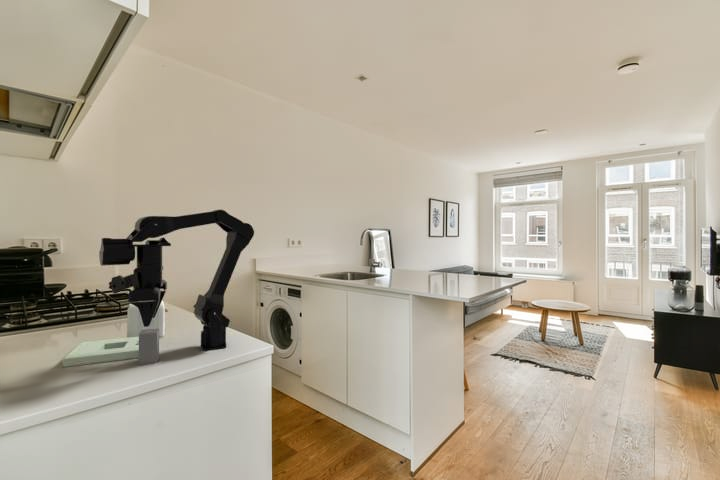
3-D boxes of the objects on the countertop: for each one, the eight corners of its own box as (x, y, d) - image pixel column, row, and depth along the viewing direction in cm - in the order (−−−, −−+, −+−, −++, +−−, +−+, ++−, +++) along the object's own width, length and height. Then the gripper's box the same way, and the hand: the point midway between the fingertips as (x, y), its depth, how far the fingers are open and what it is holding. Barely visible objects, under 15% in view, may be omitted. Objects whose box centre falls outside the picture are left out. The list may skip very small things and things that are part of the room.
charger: (158, 357, 89) (159, 328, 89) (156, 362, 85) (156, 332, 85) (141, 359, 87) (141, 329, 87) (138, 365, 83) (138, 334, 83)
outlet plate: (155, 339, 104) (155, 332, 104) (147, 356, 89) (147, 348, 89) (84, 346, 96) (84, 339, 96) (62, 366, 82) (62, 358, 82)
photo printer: (164, 333, 110) (164, 297, 110) (165, 337, 106) (165, 299, 106) (127, 338, 104) (127, 300, 104) (126, 342, 101) (126, 302, 100)
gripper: (121, 261, 91) (121, 316, 91) (101, 268, 74) (101, 335, 74) (167, 260, 95) (167, 313, 96) (158, 266, 79) (158, 330, 79)
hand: (149, 321), depth 86 cm, fingers open, 9 cm apart
